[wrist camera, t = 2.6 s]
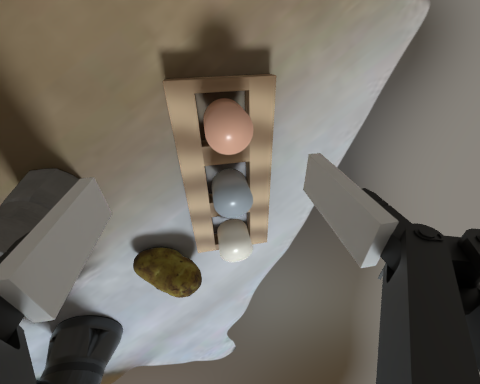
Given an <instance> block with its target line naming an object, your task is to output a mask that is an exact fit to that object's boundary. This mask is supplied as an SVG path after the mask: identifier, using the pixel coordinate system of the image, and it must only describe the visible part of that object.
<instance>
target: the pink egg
mask: <svg viewBox="0 0 480 384" xmlns="http://www.w3.org/2000/svg"><path fill="white" fill-rule="evenodd" d="M203 120H204V130H205V137H206V140H207V142H208V144H209V145H210V146H211V148H212V149H214V150H215V151H216V152H218V153H221V154H225V155H232V154H237V153H239V152H241V151H242V150H244V149H245V148H246V147H247V146H248V145H249V143H250V142H251V139H252V137H253V123H252V120H251V118H250V116H249V115H248V114H247V113H246V112H245V111H244V109H243V108H242V107H241V106H240V105H239V104H238V103H237V102H235V101H234V100H232V99H228V98H221V99H217V100H215V101H213V102H212V103H211V104H210V105H209V106H208V107H207V109H206V111H205V113H204V119H203Z"/></svg>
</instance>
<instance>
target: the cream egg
mask: <svg viewBox="0 0 480 384" xmlns="http://www.w3.org/2000/svg"><path fill="white" fill-rule="evenodd" d="M217 235H218V243H219V251H220V256H221V258H222V259H223V260H225V261H227V262H240V261H243V260H245V259H246V258H248V257H249V256H250V255H251V253H252V251H253V246H252V243H251V239H250V236H249V232H248V229H247V226H246V224H245V223H244V222H243V221H242V220H239V219H229V220H226V221H224V222H223V223H221V224H220V225H219V227H218V229H217Z"/></svg>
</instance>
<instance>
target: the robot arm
mask: <svg viewBox="0 0 480 384" xmlns="http://www.w3.org/2000/svg"><path fill="white" fill-rule="evenodd" d="M303 190H304V191H305V193H306V194H307V195H308V197H309V198H310V199H311V201H312V202H313V204H314V205H315V206H316V208H317V209H318V210H319V212H320V213H321V215H322V216H323V217H324V218H325V220H326V221H327V223H328V224H329V225H330V227H331V228H332V230H333V231H334V232H335V234H336V235H337V236H338V238H339V239H340V240H341V242H342V243H343V245H344V246H345V247H346V249H347V250H348V251H349V253H350V254H351V255H352V257H353V258H354V260H355V261H356V262H357V264H358V265H359V266H360V267H361V268H363V267H370V266H375V265H376V264H377V262H378V260H379V259H380V257H381V258H382V259H383V260H384V261H385V262H386V264H385V266H384V268H383V269H382V271H381V273H380V275H379V277H378V279H381V278H382V276H383V285H382V300H381V316H380V332H379V347H378V363H377V378H376V384H480V375H479V372H480V229H469V230H466V232H465V233H464V234H463V235H462V237H452V236H443V235H442V234H441V233H440V232H439V231H437V230H435V229H433V228H431V227H429V226H426V225H422V224H412V223H411V222H409V221H408V220H407V219H406V218H405V217H403V216H402V215H401V214H400V213H398V212H397V211H396V210H395V209H394V208H392V207H391V206H389V205H388V203H386V202H385V201H384V200H382V199H381V198H380V197H379V196H378V195H377V194H375V193H374V192H372V191H369V190H367V189H366V188H363V189H361V188H360V187H358V186H357V185H356V184H355V183H354V182H352V181H351V180H350V179H349V178H348V177H347V176H346V175H345V174H343V173H342V172H341V171H340V170H339V169H338V168H337V167H335V166H334V165H333V164H332V163H331V162H330V161H329V160H327V159H326V158H325V157H324V156H323V155H322V154H320V153H317V154H309V157H308V163H307V170H306V176H305V182H304V189H303ZM111 215H112V211H111V209H110V208H109V206H108V204H107V202H106V200H105V198H104V196H103V194H102V192H101V190H100V188H99V186H98V184H97V182H96V180H95V178H94V177H91V178H82V179H79V180H78V182H77V183H76V184H75V185H74V186H73V187H72V188H71V189H70V190H69V191H68V192H67V193H66V194H65V195H64V196H63V198H62V199H61V200H60V201H59V202H58V203H57V204H56V205H55V206H54V207H53V208H52V209H51V210H50V211H49V212H48V214H47V215H46V216H45V217H44V218H43V219H42V220H41V221H40V222H39V223H38V224H37V225H36V226H35V227H34V228H33V229H32V231H31V232H28V233H26V234H25V235H24V236H22V237H21V238H19V239H18V240H16V241H15V242H14V243H13V244H12V245H11V246H10V247H9V249H8V250H7V252H5V253H4V254H3V255H2V256H1V257H0V384H100V383H101V380H102V376H103V373H104V370H105V367H106V365H107V364H108V362H109V360H110V358H111V357H112V355H113V353H114V351H115V350H116V348H117V346H118V344H119V343H120V340H121V337H122V333H123V328H122V326H121V325H120V324H119V323H117V322H116V321H114V320H112V319H109V318H105V317H99V316H81V317H75V318H71V319H68V320H65V321H63V322H61V323H60V324H59V325H58V326H57V327H56V328H55V330H54V332H53V334H52V336H51V338H50V343H49V348H48V354H47V360H46V366H45V369H44V371H43V374H42V376H41V378H40V380H36V378H35V374H34V370H33V366H32V362H31V358H30V354H29V350H28V346H27V342H26V338H25V334H24V330H23V329H22V328H21V327H20V326H19V323H20V322H21V320H22V319H23V317H24V316H25V317H26V318H28V319H29V320H30V321H31V322H33V323H39V322H45V321H51V320H55V318H56V317H57V315H58V313H59V311H60V309H61V307H62V306H63V304H64V302H65V300H66V298H67V296H68V294H69V293H70V291H71V289H72V287H73V285H74V283H75V282H76V280H77V278H78V276H79V274H80V272H81V270H82V269H83V267H84V265H85V263H86V261H87V259H88V258H89V256H90V254H91V252H92V250H93V248H94V247H95V245H96V243H97V241H98V239H99V237H100V235H101V234H102V232H103V230H104V228H105V226H106V224H107V223H108V221H109V219H110V217H111ZM478 370H479V371H478Z"/></svg>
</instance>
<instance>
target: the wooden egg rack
mask: <svg viewBox="0 0 480 384" xmlns="http://www.w3.org/2000/svg"><path fill="white" fill-rule="evenodd" d="M163 86H164V91H165V96H166V101H167V105H168V110H169V115H170V120H171V125H172V130H173V134H174V139H175V144H176V149H177V154H178V158H179V163H180V168H181V173H182V178H183V183H184V187H185V192H186V197H187V202H188V207H189V211H190V216H191V221H192V226H193V231H194V236H195V240H196V245H197V250H198V253H201V252H207V251H213V250H219V243H218V235H217V234H214V230H213V223H212V217H217V216H221V215H220V214H218V213H217V212H216V210H215V208H214V203H213V194H209V193H208V186H207V179H206V171H205V166H210V165H219V164H229V163H238V162H246V181H247V184H248V186H249V188H250V191H251V193H252V196H253V204H252V207H251V208H250V210H249V211H248V212H247V229H248V232H249V236H250V239H251V243H252V244H258V243H264V242H267V232H268V214H269V196H270V178H271V161H272V143H273V125H274V107H275V90H276V75H272V74H257V75H237V76H217V77H197V78H176V79H165V80H164V81H163ZM243 90H245V112H246V113H247V114H248V115H249V116H250V118H251V120H252V123H253V137H252V139H251V142H250V143H249V145H248V146H247V147H246V148H245V149H244V150H242V151H241V152H239V153H237V154H232V155H225V154H221V153H218V152H216V151H215V150H214V149H212V148H211V146H210V145H209V144H208V142H207V140H201V134H200V127H199V120H198V112H197V105H196V98H195V93H209V92H226V91H243Z"/></svg>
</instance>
